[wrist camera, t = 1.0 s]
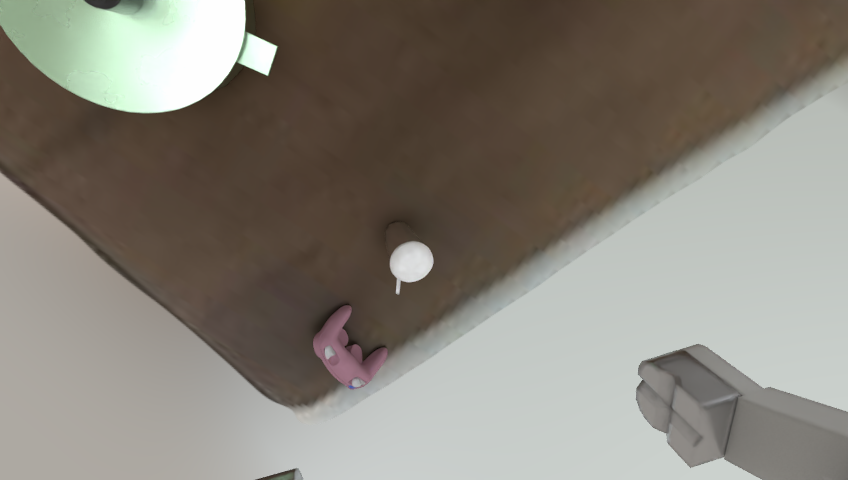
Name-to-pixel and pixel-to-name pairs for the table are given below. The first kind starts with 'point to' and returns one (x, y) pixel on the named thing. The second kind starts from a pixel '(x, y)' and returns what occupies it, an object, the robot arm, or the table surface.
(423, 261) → the milkshake
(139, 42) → the lid
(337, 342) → the video game controller
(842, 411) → the robot arm
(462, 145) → the table surface
